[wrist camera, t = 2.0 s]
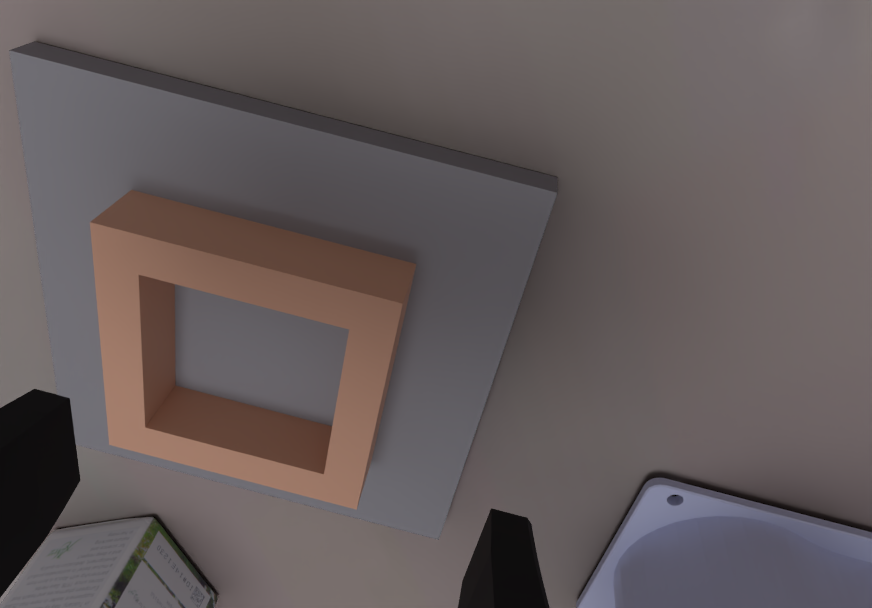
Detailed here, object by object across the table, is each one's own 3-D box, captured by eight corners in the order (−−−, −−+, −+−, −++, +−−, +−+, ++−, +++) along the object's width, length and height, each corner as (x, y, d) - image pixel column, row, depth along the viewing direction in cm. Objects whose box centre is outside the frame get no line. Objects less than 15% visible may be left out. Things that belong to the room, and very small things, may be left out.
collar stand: (557, 177, 18) (558, 229, 15) (442, 517, 25) (430, 588, 23) (34, 41, 18) (-51, 71, 15) (80, 422, 26) (28, 483, 23)
